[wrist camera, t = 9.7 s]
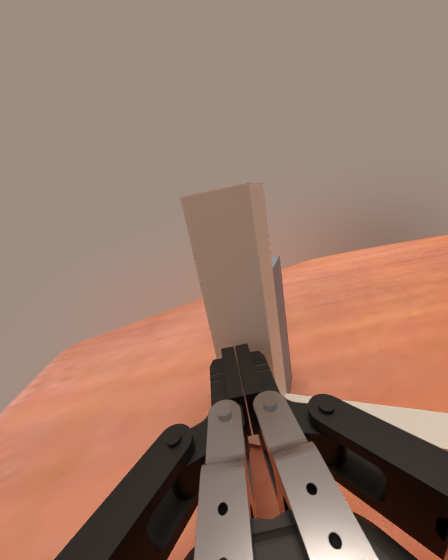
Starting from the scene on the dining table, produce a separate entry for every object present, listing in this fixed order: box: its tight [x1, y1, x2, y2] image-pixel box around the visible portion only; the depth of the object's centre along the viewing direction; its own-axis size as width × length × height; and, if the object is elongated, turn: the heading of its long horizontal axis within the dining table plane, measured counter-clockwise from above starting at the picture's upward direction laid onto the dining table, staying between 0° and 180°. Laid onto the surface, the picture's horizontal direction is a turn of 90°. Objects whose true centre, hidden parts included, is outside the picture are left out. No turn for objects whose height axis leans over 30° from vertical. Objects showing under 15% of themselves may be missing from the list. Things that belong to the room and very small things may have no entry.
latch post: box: [271, 256, 292, 394], centre depth 20 cm, size 3×3×12 cm
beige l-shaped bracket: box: [180, 183, 448, 451], centre depth 13 cm, size 19×4×17 cm, turn 71°
